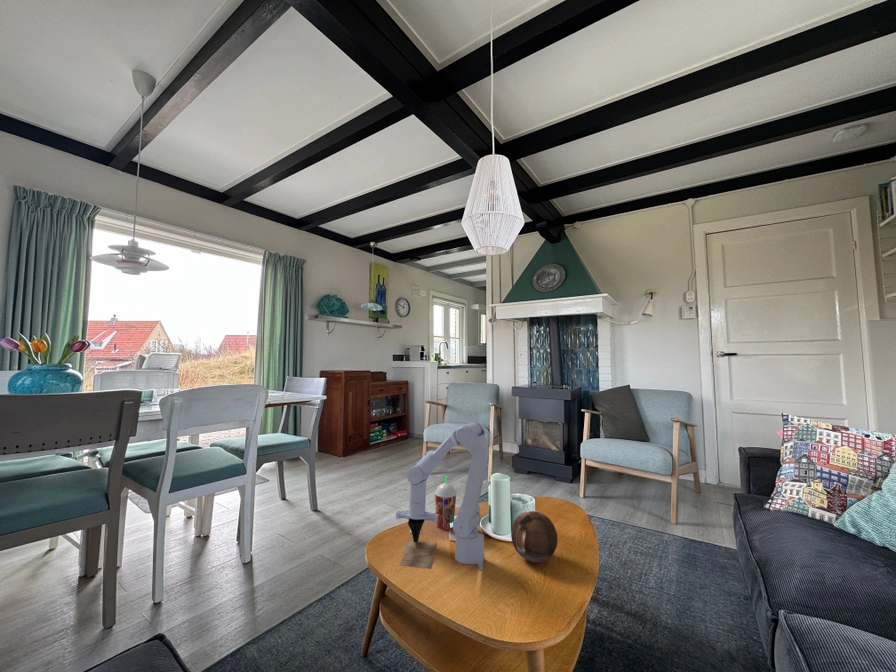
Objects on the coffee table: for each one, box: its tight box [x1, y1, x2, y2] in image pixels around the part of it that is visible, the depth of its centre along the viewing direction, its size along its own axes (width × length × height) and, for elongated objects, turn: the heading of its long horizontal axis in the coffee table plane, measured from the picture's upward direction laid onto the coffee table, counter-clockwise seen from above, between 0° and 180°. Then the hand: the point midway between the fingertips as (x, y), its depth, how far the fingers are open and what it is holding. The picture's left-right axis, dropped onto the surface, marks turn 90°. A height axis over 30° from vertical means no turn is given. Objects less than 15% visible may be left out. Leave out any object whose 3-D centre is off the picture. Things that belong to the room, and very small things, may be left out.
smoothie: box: [434, 475, 457, 531], centre depth 137 cm, size 8×8×20 cm
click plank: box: [401, 539, 437, 556], centre depth 120 cm, size 10×8×1 cm
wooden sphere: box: [510, 510, 558, 563], centre depth 118 cm, size 15×15×15 cm
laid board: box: [399, 553, 436, 570], centre depth 112 cm, size 10×7×2 cm
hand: (416, 540), depth 123 cm, fingers closed
